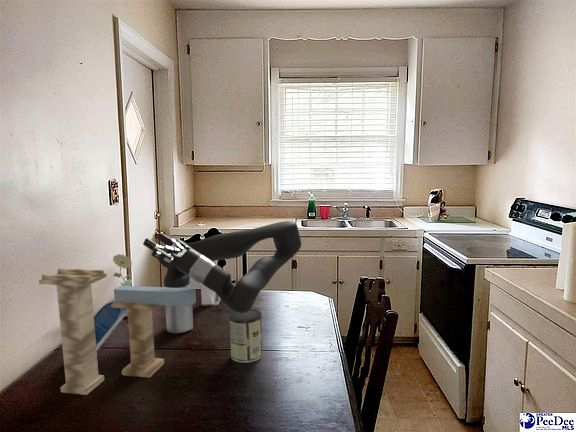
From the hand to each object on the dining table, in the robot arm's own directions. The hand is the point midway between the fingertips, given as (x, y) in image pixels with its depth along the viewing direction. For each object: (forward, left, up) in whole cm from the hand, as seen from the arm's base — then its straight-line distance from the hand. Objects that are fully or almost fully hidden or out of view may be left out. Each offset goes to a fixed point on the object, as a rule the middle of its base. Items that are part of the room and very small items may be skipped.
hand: (152, 238), depth 130 cm
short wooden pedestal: (+5, +1, -40) cm, 40 cm away
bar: (+1, +4, -18) cm, 19 cm away
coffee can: (-26, +6, -40) cm, 48 cm away
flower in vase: (+7, -52, -40) cm, 66 cm away
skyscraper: (-27, -49, -40) cm, 69 cm away
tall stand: (+22, +4, -40) cm, 46 cm away
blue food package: (+23, -12, -37) cm, 46 cm away
